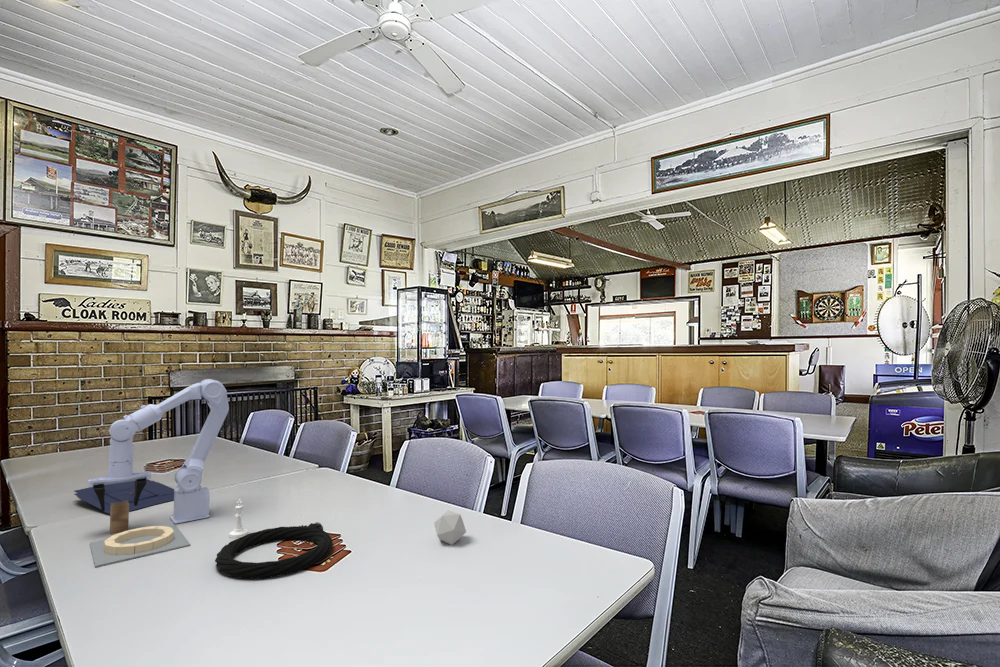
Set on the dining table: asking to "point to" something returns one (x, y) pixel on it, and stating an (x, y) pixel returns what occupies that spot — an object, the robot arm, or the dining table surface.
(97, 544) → the bead board
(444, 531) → the die
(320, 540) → the cable lock
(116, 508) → the wooden peg
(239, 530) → the chess piece
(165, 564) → the dining table surface
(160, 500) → the dark blue flat plate
